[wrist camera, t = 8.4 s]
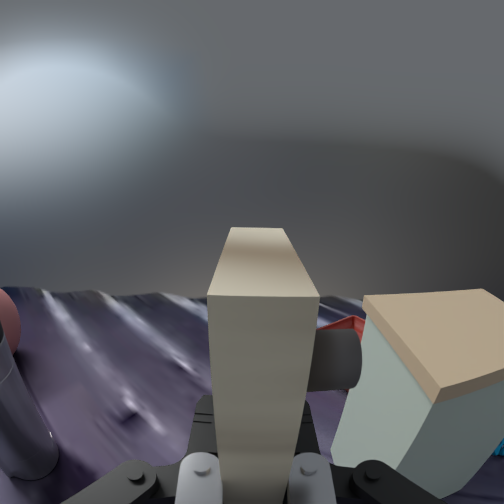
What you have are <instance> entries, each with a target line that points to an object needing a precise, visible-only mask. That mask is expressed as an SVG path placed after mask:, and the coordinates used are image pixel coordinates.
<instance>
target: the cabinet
mask: <svg viewBox="0 0 504 504" xmlns="http://www.w3.org/2000/svg"><path fill="white" fill-rule="evenodd" d="M362 308H363V310H364V311H365V312H366V314H367V316H366V321H365V326H364V331H363V336H362V340H361V348H362V370H361V376H360V379H359V382H358V384H357V385H356V387H354V388H351V389H349V393H348V396H347V400H346V403H345V406H344V410H343V413H342V416H341V420H340V423H339V426H338V429H337V432H336V435H335V438H334V441H333V444H332V447H331V449H330V450H331V454H332V457H333V461H334V465H337V466H343V467H352V468H355V467H356V466H357V465H358V464H359V463H361V462H363V461H366V460H379V461H382V462H384V463H386V464H387V465H388V466H390V467H391V468H393V469H394V470H396V471H397V472H399V473H400V474H401V475H403V476H404V477H406V478H407V479H409V480H410V481H412V482H413V483H415V484H417V485H418V486H420V487H421V488H423V489H424V490H426V491H427V492H429V493H431V494H432V495H434V496H435V497H437V498H439V499H442V498H444V497H446V496H448V495H450V494H453V493H455V492H457V491H459V490H461V489H462V488H463V487H464V486H465V485H466V483H467V482H468V481H469V480H470V479H471V478H472V477H473V476H474V475H475V473H476V472H477V471H478V470H479V469H480V468H481V466H482V465H483V464H484V463H485V462H486V460H487V459H488V458H489V457H490V455H491V454H492V453H493V452H494V450H495V449H496V448H497V446H498V445H499V444H500V442H501V441H502V439H503V438H504V302H503V301H501V300H499V299H498V298H496V297H495V296H493V295H492V294H490V293H488V292H487V291H485V290H483V289H473V290H459V291H445V292H430V293H411V294H390V295H364V299H363V305H362Z"/></svg>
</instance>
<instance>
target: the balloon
mask: <svg viewBox="0 0 504 504" xmlns="http://www.w3.org/2000/svg"><path fill="white" fill-rule="evenodd" d="M0 321H1V324H2V328H3V331H4V334H5V336H6V339H7V342H8V345H9V348H10V350H11V353H12V355H13V354H14V352H15V351H16V349H17V347H18V344H19V341H20V335H21V324H20V318H19V314H18V311H17V309H16V307H15V305H14V303H13V301H12V300H11V298H10V297H9V296H8V295H7V294H6V293H5V292H4V291H3V290H2V289H0Z"/></svg>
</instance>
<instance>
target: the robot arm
mask: <svg viewBox="0 0 504 504" xmlns="http://www.w3.org/2000/svg"><path fill="white" fill-rule="evenodd" d="M58 457H59V450H58V447H57V444H56V442H55V441H54V439H53V437H52V435H51V433H50V432H49V430H48V429H47V427H46V425H45V423H44V422H43V420H42V418H41V416H40V414H39V412H38V411H37V409H36V407H35V405H34V403H33V401H32V399H31V397H30V395H29V393H28V391H27V388H26V386H25V384H24V382H23V380H22V377H21V375H20V373H19V370H18V368H17V366H16V363H15V361H14V358H13V356H12V353H11V350H10V348H9V345H8V342H7V339H6V336H5V334H4V331H3V328H2V324H1V321H0V468H1V469H2V471H3V472H4V473H5V474H6V475H7V476H8V477H13V476H15V477H18V478H21V479H24V480H36V479H40V478H42V477H44V476H46V475H48V474H49V473H50V472H51V471H52V470H53V469H54V467H55V466H56V464H57V461H58ZM60 504H224V501H223V480H221V477H220V468H219V459H218V450H217V440H216V429H215V418H214V406H213V395H203V396H202V398H201V399H200V400H199V401H198V402H197V404H196V409H195V415H194V419H193V424H192V429H191V434H190V439H189V444H188V449H187V453H186V455H185V456H184V457H183V458H182V459H181V460H180V461H179V462H177V463H175V464H172V465H167V466H158V467H152V466H151V465H150V464H148V463H147V462H144V461H141V460H129V461H126V462H124V463H122V464H120V465H119V466H118V467H116V468H115V469H113V470H112V471H110V472H109V473H107V474H106V475H105V476H103V477H102V478H100V479H99V480H97V481H96V482H94V483H93V484H91V485H89V486H88V487H86V488H85V489H83V490H82V491H80V492H78V493H77V494H75V495H74V496H72V497H70V498H69V499H67V500H65V501H64V502H62V503H60ZM282 504H447V503H445V502H444V501H442V500H440V499H439V498H437V497H435V496H434V495H432V494H431V493H429V492H427V491H426V490H424V489H423V488H421V487H420V486H418V485H417V484H415V483H413V482H412V481H410V480H409V479H407V478H406V477H404V476H403V475H401V474H400V473H399V472H397V471H396V470H394V469H393V468H391V467H390V466H388V465H387V464H386V463H384V462H382V461H379V460H366V461H363V462H361V463H359V464H358V465H357V466H356V467H355V468H352V467H343V466H337V465H333V464H331V463H329V462H328V461H327V459H326V458H324V457H323V456H322V455H321V454H320V451H319V446H318V442H317V437H316V433H315V428H314V424H313V419H312V416H311V411H310V406H309V404H308V402H307V401H306V400H305V403H304V408H303V414H302V419H301V424H300V429H299V434H298V439H297V444H296V448H295V453H294V458H293V462H292V466H291V471H290V475H289V479H288V483H287V487H286V491H285V495H284V499H283V503H282Z"/></svg>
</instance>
